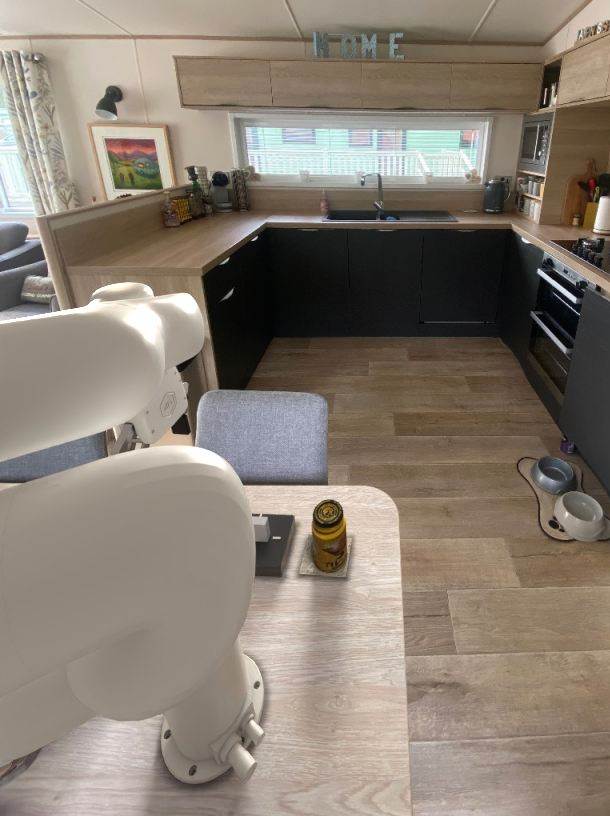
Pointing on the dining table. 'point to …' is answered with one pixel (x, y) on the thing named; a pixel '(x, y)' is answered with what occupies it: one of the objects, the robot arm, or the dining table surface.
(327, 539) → the condiment
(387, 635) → the dining table surface
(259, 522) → the tap handle
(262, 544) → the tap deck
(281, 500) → the dining table surface
